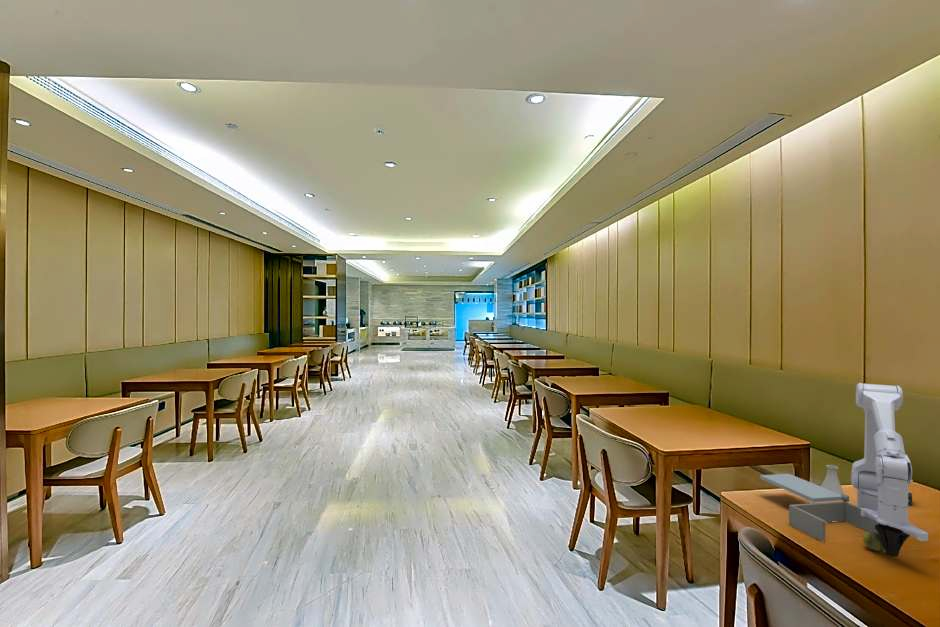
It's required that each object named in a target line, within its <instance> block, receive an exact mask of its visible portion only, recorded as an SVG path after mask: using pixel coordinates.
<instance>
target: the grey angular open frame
mask: <svg viewBox="0 0 940 627" xmlns="http://www.w3.org/2000/svg"><path fill="white" fill-rule="evenodd" d="M788 505H789V506H788V507H789V508H788V510H789V511H788V525H789V526H791V527H793V528H795V529H797V530H798V531H800V530H801V531H800V532H802V531H803V533H804V532H805V533H804V534H807V535H808V536H810V537H812V538H813V539H815V538H817V539H819V540H821V541H825V542H826V523H825V522H832V521H846V522H845V523H847V522H848V524H849V523H851V524H853V525H852V526H854V525H855V526H854V527H856V526H857V527H856V528H858V527H859V529H860V528H861V529H860V530H862V529H863V530H862V531H864V532H866V533H867V532H875V533H878V532H877V530H876V529H875V525H878V522H877V521H876V520H873V519H871V518H869V517H864V516H862V515H861V508H860V507H858V506H857V505H855V504H854V503H850V502H847V501H842V500H841V501H826V502H811V503H799V504H797V503H796V504H788ZM851 524H850V525H851ZM878 534H879V533H878ZM817 539H816V540H817ZM819 540H818V541H819ZM821 541H820V542H821Z"/></svg>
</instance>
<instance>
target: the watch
mask: <svg viewBox="0 0 940 627" xmlns="http://www.w3.org/2000/svg"><path fill="white" fill-rule="evenodd" d="M907 482H908V487H909V486H910V484H911V483H913V482H914V481H913V479H911V481H910V482H909V481H908V479H907ZM909 506H910V507H912V506H913V493H912V492H908V507H909Z"/></svg>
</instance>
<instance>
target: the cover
mask: <svg viewBox="0 0 940 627" xmlns="http://www.w3.org/2000/svg"><path fill="white" fill-rule="evenodd" d="M759 478H760V480H763V481H764V482H767V483H768V484H771V485H773V486H776V487H778V488H780V489H783V490H785V491H787V492H790V493H791V494H793V495H796V496H799V497H800V498H802V499H805V500H807V501H809V502H811V503H826V502H841V501H846V502H848V503H850V496H849V495H847V494H844V495H843V494H841V495H840V494H838V493H835V492H833V491H830V490H828V489H826V488H823V487H821V485H817V484H815V483H812V482H810V481H808V480H806V479H803V478H800V477H798V476H795V475H793V474H790V473H776V474H775V473H774V474H761V475H760V476H759Z"/></svg>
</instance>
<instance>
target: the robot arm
mask: <svg viewBox="0 0 940 627" xmlns="http://www.w3.org/2000/svg"><path fill="white" fill-rule="evenodd" d="M903 403H904V393H903V389H902V387H901V386H899V385H889V384H887V385H886V384H875V383H862V382H858V383H857V384H856V386H855V404H856V407H859V408H862V409H863V411H864V443H863V444H864V445H863V446H864V448H863V450H864V451H863V452H864V453H863V458H862V459H859V460H856V461H854V462H853V463H852V466H851V472H850V480H851V485H852V487H853V488H854V489H855V490H856V491H857V493H856V495H857V496H856V501H857V502H856V506H858V507H860V508H861V515H862V516H864V517H869V518H871V519H873V520H876V521H877V522H878V525H875V529H876V530H877V532H878V533H879V535H880V537H881V539H882V542H883V544H884V548H885V551H884V552H885V554H886V555H887V556H889V557H891V558H895V557H899V553H900V551H901V548H902V547H903V545H904V543H905V542H906V540H907V539H908V538H909V537H910V536H911V537H913V538H914V539H916V540H917V541H920V542H928V541H929V533H928V532H927V531H924V530H922V529H921V528H919V527H917V526H915V525H914V524H912V523H910V522H909V518H908V517H909V505H908V493H909V486H908V482H907V479H908V481H909V482H910V481H911V480H913V479H912V478H913V467H912V463H911V460H910V458H909V456H908V454H906V452H905V447H904V440H903V437H902V435H901V434H900V433H898V432H896V423H895V422H896V421H895V420H896V419H895V412H896V411H899V410H900V407H902V406H903Z"/></svg>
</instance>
